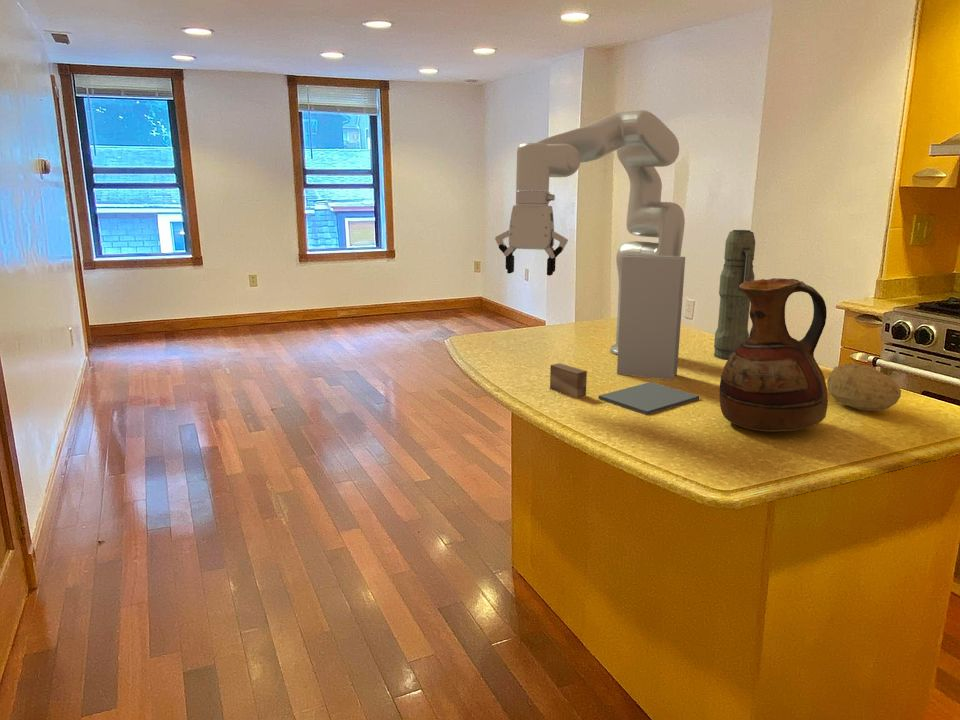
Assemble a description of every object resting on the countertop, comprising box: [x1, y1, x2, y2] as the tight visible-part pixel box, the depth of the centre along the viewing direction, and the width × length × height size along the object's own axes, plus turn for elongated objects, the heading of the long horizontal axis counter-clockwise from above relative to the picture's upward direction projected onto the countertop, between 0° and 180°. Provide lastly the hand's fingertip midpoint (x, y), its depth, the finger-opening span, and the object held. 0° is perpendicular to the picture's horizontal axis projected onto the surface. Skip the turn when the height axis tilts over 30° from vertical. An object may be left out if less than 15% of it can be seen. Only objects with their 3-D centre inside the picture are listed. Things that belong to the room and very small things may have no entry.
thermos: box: [713, 229, 756, 361], centre depth 190 cm, size 9×12×35 cm
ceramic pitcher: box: [718, 278, 829, 432], centre depth 137 cm, size 20×20×30 cm
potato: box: [826, 363, 902, 412], centre depth 149 cm, size 10×14×10 cm
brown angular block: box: [549, 362, 588, 399], centre depth 162 cm, size 3×9×6 cm, turn 37°
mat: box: [598, 381, 700, 416], centre depth 157 cm, size 18×14×1 cm
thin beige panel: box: [616, 254, 686, 381], centre depth 173 cm, size 14×6×30 cm, turn 65°
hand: (530, 273), depth 163 cm, fingers open, 9 cm apart
